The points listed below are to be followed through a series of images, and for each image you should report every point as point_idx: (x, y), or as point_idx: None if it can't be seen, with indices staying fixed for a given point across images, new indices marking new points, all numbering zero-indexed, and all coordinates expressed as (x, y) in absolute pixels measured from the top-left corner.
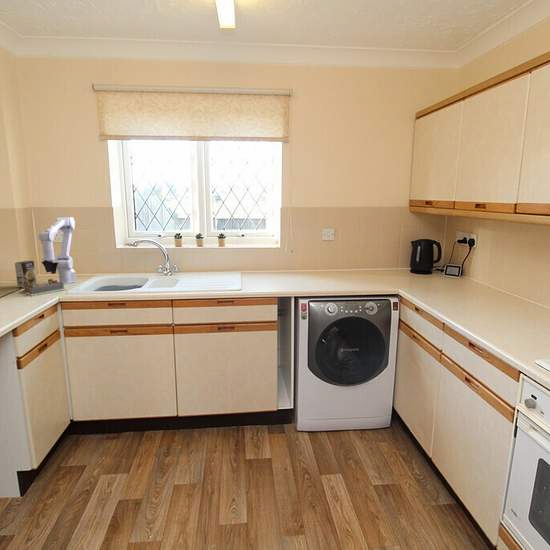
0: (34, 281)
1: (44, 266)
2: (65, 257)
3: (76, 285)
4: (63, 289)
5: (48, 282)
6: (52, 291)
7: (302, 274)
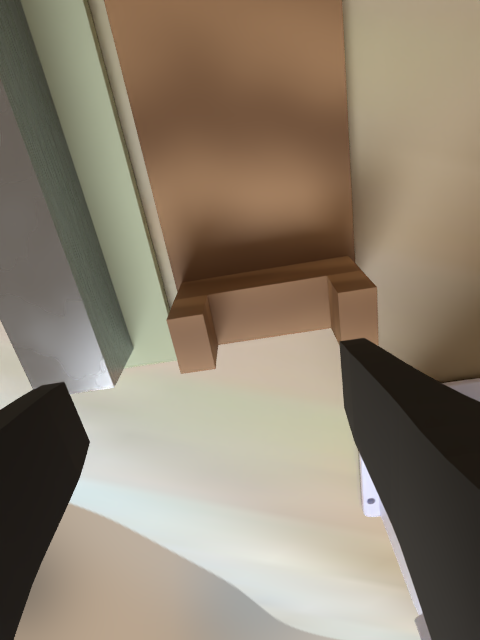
0: None
1: (465, 409)
2: None
3: (205, 476)
4: None
5: (356, 271)
6: None
7: None
